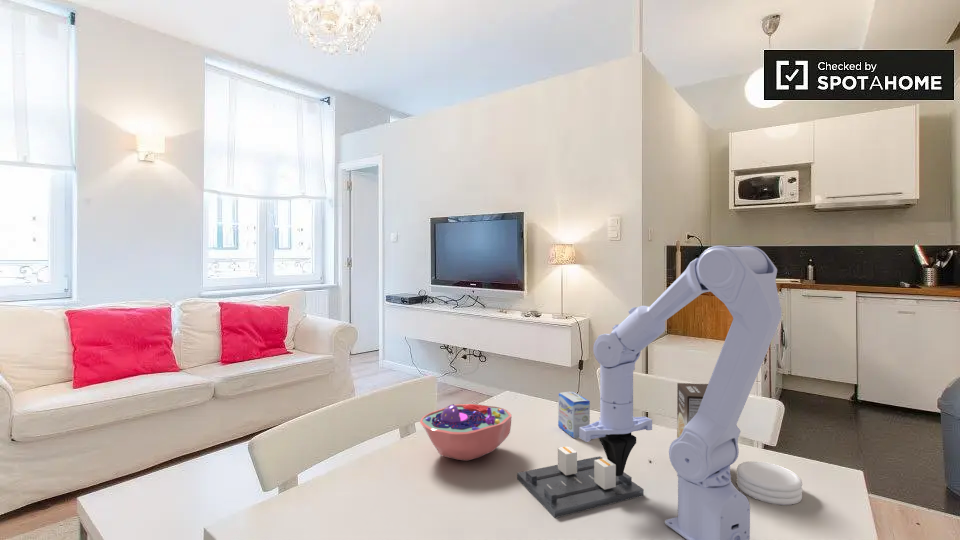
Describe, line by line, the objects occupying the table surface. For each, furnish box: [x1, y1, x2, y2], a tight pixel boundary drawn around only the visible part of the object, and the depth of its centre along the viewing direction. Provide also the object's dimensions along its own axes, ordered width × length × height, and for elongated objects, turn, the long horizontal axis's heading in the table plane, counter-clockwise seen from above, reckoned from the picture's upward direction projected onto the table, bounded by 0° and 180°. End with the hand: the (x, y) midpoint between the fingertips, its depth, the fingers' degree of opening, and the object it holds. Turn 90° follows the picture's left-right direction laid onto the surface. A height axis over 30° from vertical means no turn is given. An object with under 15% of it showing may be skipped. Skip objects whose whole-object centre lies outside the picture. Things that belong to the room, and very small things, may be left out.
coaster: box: [736, 460, 803, 506], centre depth 82 cm, size 10×10×4 cm
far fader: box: [557, 446, 578, 475], centre depth 87 cm, size 3×2×4 cm
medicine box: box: [557, 391, 591, 439], centre depth 110 cm, size 8×4×9 cm, turn 17°
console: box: [516, 456, 645, 519], centre depth 84 cm, size 14×18×2 cm
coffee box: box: [676, 382, 708, 439], centre depth 90 cm, size 9×6×16 cm
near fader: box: [594, 457, 616, 490], centre depth 82 cm, size 3×2×4 cm
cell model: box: [419, 403, 512, 462], centre depth 98 cm, size 17×20×11 cm
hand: (616, 473), depth 83 cm, fingers closed
